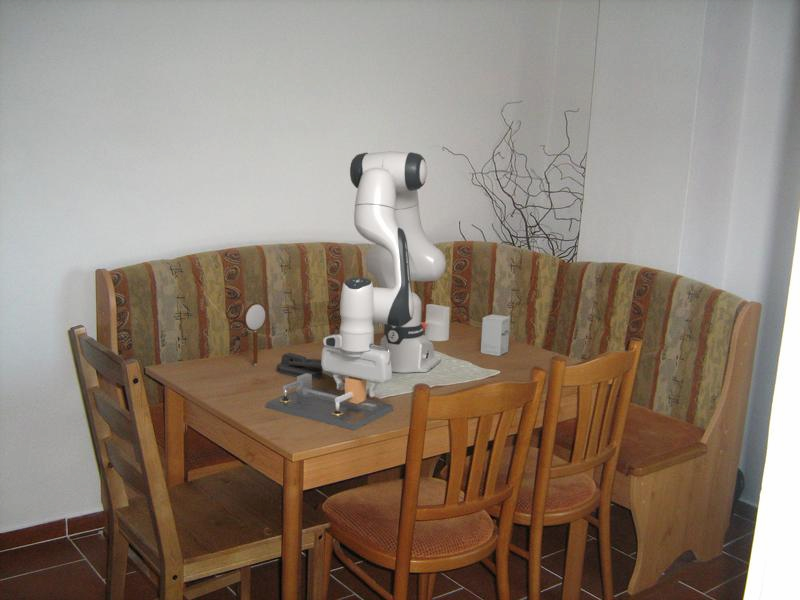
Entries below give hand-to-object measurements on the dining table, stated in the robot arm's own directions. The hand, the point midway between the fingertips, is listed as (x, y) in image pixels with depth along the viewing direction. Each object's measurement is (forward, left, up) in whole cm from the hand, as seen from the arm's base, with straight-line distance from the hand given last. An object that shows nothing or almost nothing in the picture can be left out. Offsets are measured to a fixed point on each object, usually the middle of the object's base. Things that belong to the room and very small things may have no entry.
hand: (355, 392), depth 203 cm
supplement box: (-78, +4, -5) cm, 78 cm away
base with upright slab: (-84, -22, -5) cm, 87 cm away
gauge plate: (+3, -6, -5) cm, 8 cm away
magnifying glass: (-16, -49, -5) cm, 52 cm away
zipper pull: (-18, -28, -5) cm, 34 cm away
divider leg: (+3, 0, -3) cm, 4 cm away
